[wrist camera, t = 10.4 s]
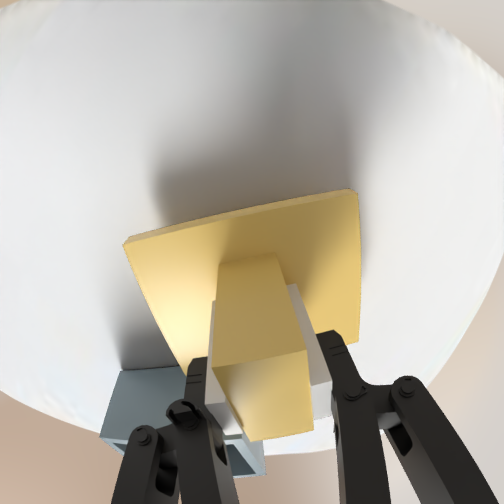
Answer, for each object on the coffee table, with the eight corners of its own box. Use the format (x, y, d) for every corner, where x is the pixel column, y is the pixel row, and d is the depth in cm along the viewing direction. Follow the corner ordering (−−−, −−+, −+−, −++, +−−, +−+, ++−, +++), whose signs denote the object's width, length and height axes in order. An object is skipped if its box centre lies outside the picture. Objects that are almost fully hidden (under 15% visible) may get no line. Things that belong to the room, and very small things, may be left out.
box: (161, 421, 27) (154, 477, 20) (120, 370, 23) (99, 437, 15) (259, 413, 26) (266, 474, 19) (238, 357, 22) (242, 438, 15)
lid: (188, 355, 20) (176, 460, 12) (135, 230, 15) (58, 329, 7) (348, 322, 20) (396, 419, 11) (342, 184, 15) (445, 249, 7)
